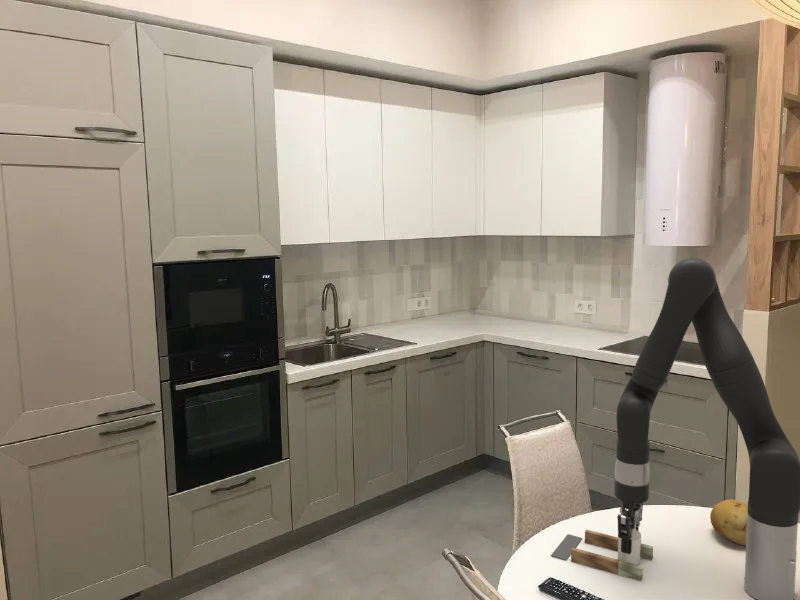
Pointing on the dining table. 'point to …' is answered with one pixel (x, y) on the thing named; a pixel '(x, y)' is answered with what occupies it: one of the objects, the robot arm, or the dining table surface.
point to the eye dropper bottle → (636, 547)
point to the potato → (730, 520)
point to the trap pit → (566, 547)
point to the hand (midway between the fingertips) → (629, 546)
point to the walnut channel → (607, 562)
